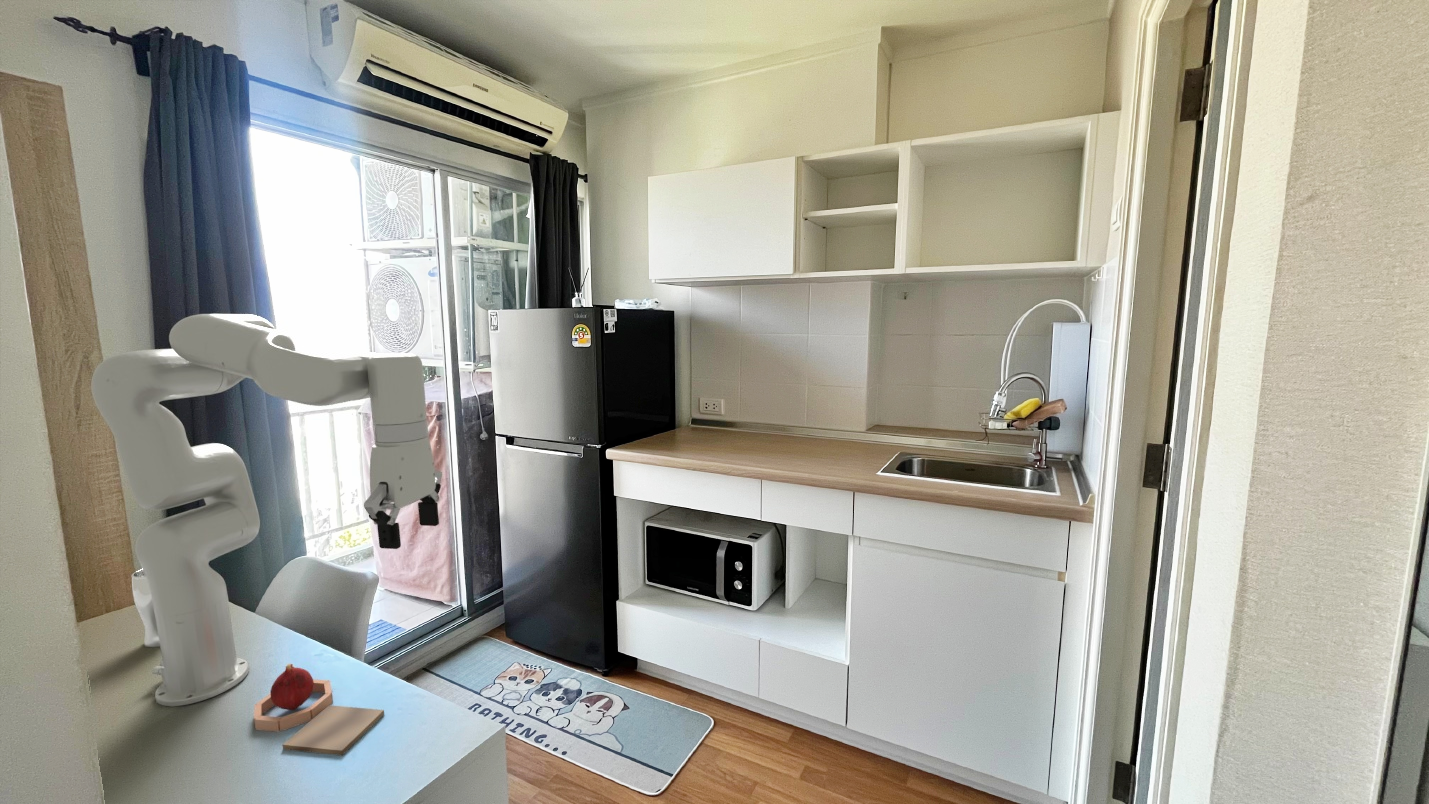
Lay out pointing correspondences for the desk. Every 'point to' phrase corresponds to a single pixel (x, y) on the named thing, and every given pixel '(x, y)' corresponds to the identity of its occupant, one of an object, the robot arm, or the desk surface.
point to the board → (334, 730)
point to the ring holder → (294, 718)
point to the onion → (292, 688)
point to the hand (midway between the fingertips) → (410, 535)
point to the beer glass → (145, 607)
